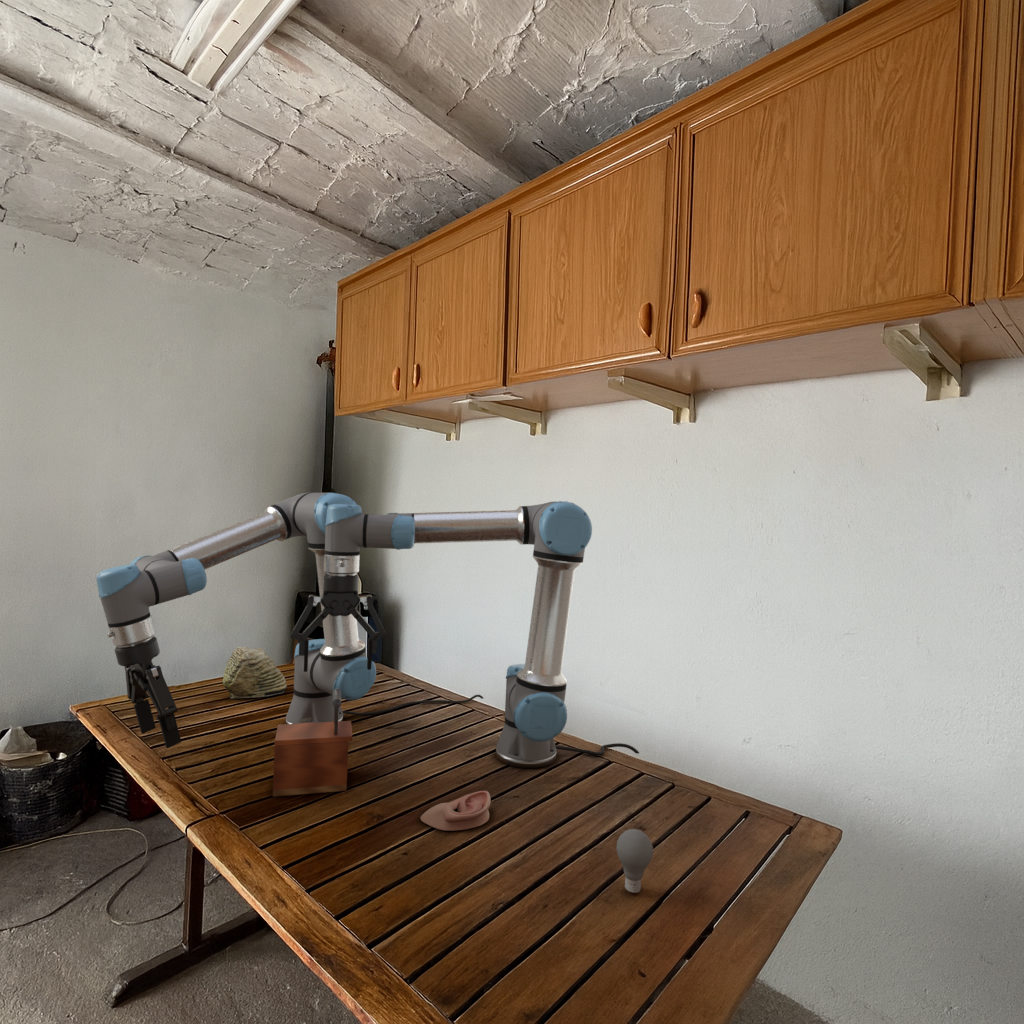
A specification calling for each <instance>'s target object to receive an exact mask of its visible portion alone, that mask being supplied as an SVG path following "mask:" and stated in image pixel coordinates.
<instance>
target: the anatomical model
mask: <svg viewBox="0 0 1024 1024" xmlns="http://www.w3.org/2000/svg"><path fill="white" fill-rule="evenodd" d="M491 799H492V798H491V793H490V792H489V791H488V790H478V791H475V792H472V793H468V794H465V795H463V796H461V797H459V798H457V799H455V800H451V801H449V802H441V803H438V804H436V805H434V806H432V807H430V808H429V809H427V810H426V811H425V812H424V813H423V814H421V816H420V817H419V818H420V821H421V822H423V823H424V824H426V825H428V826H429V827H431V828H434V829H437V830H440V831H443V832H445V831H446V832H449V831H450V832H452V831H464V830H469V829H474V828H477V827H480V826H482V825H485V824H486V823H487V822H488V821H489V820H490V810H489V809H490V807H491V803H492V801H491Z"/></svg>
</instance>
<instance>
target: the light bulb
mask: <svg viewBox="0 0 1024 1024" xmlns="http://www.w3.org/2000/svg"><path fill="white" fill-rule="evenodd" d="M615 849H616V854H617V857H618V859H619V861H620V863H621V865H622V867H623V873H624V874H623V875H624V876H625V878H624V888H625V890H627V891H628V892H630V893H634V894H635V893H639V892H640V891H641V889H642V887H641V886H642V879H643V877H644V875H645V871H646V868H647V867H648V866H649V864H650V863H651V861H652V859H653V855H654V847H653V843H652V841H651V838H649V836H648V835H647V834H646V833H645V832H643V831H642V830H641V829H636V828H629V829H627V830H625V831H623V832H622V833H621V834H620V835H619V837H618V839H617V841H616V847H615Z"/></svg>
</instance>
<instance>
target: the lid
mask: <svg viewBox="0 0 1024 1024" xmlns="http://www.w3.org/2000/svg"><path fill="white" fill-rule="evenodd" d="M332 696H333V706H334V722H318V723H299V724H286V723H284V724H282V723H281V724H278V725H277V728H276V733H275V738H274V747H275V746H281V745H297V744H314V743H330V742H346V741H348V742H353V729H352V721H351V720H343V721H338V710H339V707H340V706H341V707H342V699H341V691H340V689H334V690H333V692H332Z"/></svg>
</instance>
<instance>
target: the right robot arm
mask: <svg viewBox="0 0 1024 1024" xmlns="http://www.w3.org/2000/svg"><path fill="white" fill-rule="evenodd" d="M592 524H593V523H592V521H591V518H590V516H589V515H588V513H587V512H586V511H585V510H584V509H583V508H582V507H581V506H579V505H578V504H576V503H574V502H571V501H567V500H565V501H563V500H561V501H560V500H559V501H548V502H544V503H539V504H533V505H520V506H518V507H517V508H516V509H514V510H513V509H512V510H508V509H507V510H477V511H476V510H475V511H472V510H471V511H442V512H441V511H439V512H435V511H434V512H433V511H432V512H403V513H402V512H401V513H398V512H389V513H386V514H369V513H363V510H362V506H361V505H359V504H357V505H347V504H332V505H330V506H329V507H328V509H327V518H326V524H325V558H324V571H325V572H326V573H327V574H325V576H324V584H323V595H322V597H320V596H316V595H314V594H309V595H308V598H307V602H306V603H307V604H306V606H305V608H304V610H303V612H302V613H301V615H300V617H299V619H298V620H297V622H296V624H295V626H294V628H293V629H292V631H291V634H290V638H291V639H292V640H293V639H294V640H297V641H298V644H299V655H300V656H304V672H307V670H308V647H309V640H310V639H309V638H308V637H309V636H310V635H311V634H312V633H313V632H314V631H315V630H316V628H317V627H319V625H320V624H321V623H323V620H324V619H325V618H326V617H327V616H328V615H329V614H330V615H332V616H348V615H350V614H352V615H353V617H354V618H355V619H356V620H357V623H358V624H359V625H360V626H361V627H362V629H364V631H365V632H366V633H367V634H368V635H369V637H368V638H367V655H366V657H367V668H368V670H371V663H372V661H373V659H372V658H373V655H376V654H377V652H378V641H379V639H381V638H384V637H386V636H387V633H386V630H385V628H384V626H383V625H382V622H381V620H380V618H379V616H378V613H377V611H376V609H375V608H374V602H373V597H372V594H367V595H363V596H360V595H359V585H360V583H359V582H360V576H359V575H358V573H359V572H360V557H361V556H360V555H361V552H360V550H361V548H363V549H367V548H368V549H369V548H371V549H385V550H386V549H387V550H389V549H392V550H396V551H397V550H398V551H399V550H411V549H413V548H414V546H415V544H444V543H445V544H446V543H452V544H453V543H480V542H481V543H485V542H517V543H518V544H519V545H520V546H521V545H531V546H532V545H533V551H532V558H533V559H534V560H535V561H536V563H537V572H536V580H535V587H534V594H533V601H532V602H533V603H532V610H531V615H530V624H529V632H528V638H527V639H528V640H527V647H526V653H525V654H526V655H525V661H524V663H515V664H511V665H509V666H507V669H506V675H505V679H506V680H505V682H506V683H505V703H504V704H505V705H504V724H503V726H502V730H501V733H500V735H499V738H498V740H497V744H496V746H495V748H496V749H495V756H496V758H497V759H498V760H499V761H500V762H501V763H503V764H505V765H508V766H511V767H516V768H520V769H539V768H544V767H547V766H550V765H552V764H553V763H554V762H556V760H557V750H561V751H568V752H574V753H582V754H587V755H590V756H591V755H592V756H596V757H599V756H603V755H604V754H605V749H609V748H610V749H611V748H626V749H628V750H631V751H632V752H634V753H635V754H636V755H637V754H640V752H639V751H638V749H636V747H634V746H632V745H630V744H627V743H620V742H617V743H608V744H604V745H601V746H600V751H592V750H589V749H583V748H577V747H569V746H563V745H556V742H555V739H554V738H557V736H559V735H560V734H561V733H562V732H563V730H564V729H565V727H566V725H567V720H568V709H567V705H566V704H565V700H566V699H565V698H566V693H567V684H568V680H567V678H566V677H565V676H564V674H563V673H562V672H563V665H564V656H565V651H566V650H565V648H566V643H567V642H566V641H567V634H568V628H569V627H568V626H569V620H570V611H571V604H572V598H573V589H574V582H575V575H576V570H577V569H578V568H580V566H582V565H583V564H584V557H585V549H586V547H587V546H588V545H589V543H590V541H591V538H592V535H593V525H592ZM318 603H320V604H321V603H322V605H323V606H324V609H323V610H321V612H319V614H318V615H317V616H316V617H315V618H314V619H313V620H312V621H311V623H310V624H309V625H308V626H307V627H306V628H305V629H304V630H303V631H302V632H300V631H301V629H302V627H304V624H305V622H306V620H307V619H308V617H309V615H310V614H311V612H312V609H313V608H314V607H316V606H318ZM360 603H362V604H363V606H365V607H367V609H368V612H369V614H370V616H371V618H372V620H373V622H374V624H375V627H376V628H377V631H375V630H374V629H373V628H372V626H371V625H370V624H369V623H368V622H367V620H366V619H365V618H364V617H363V616H362V614H361V613H360V612H359V610H357V607H358V606H359V604H360Z"/></svg>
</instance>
